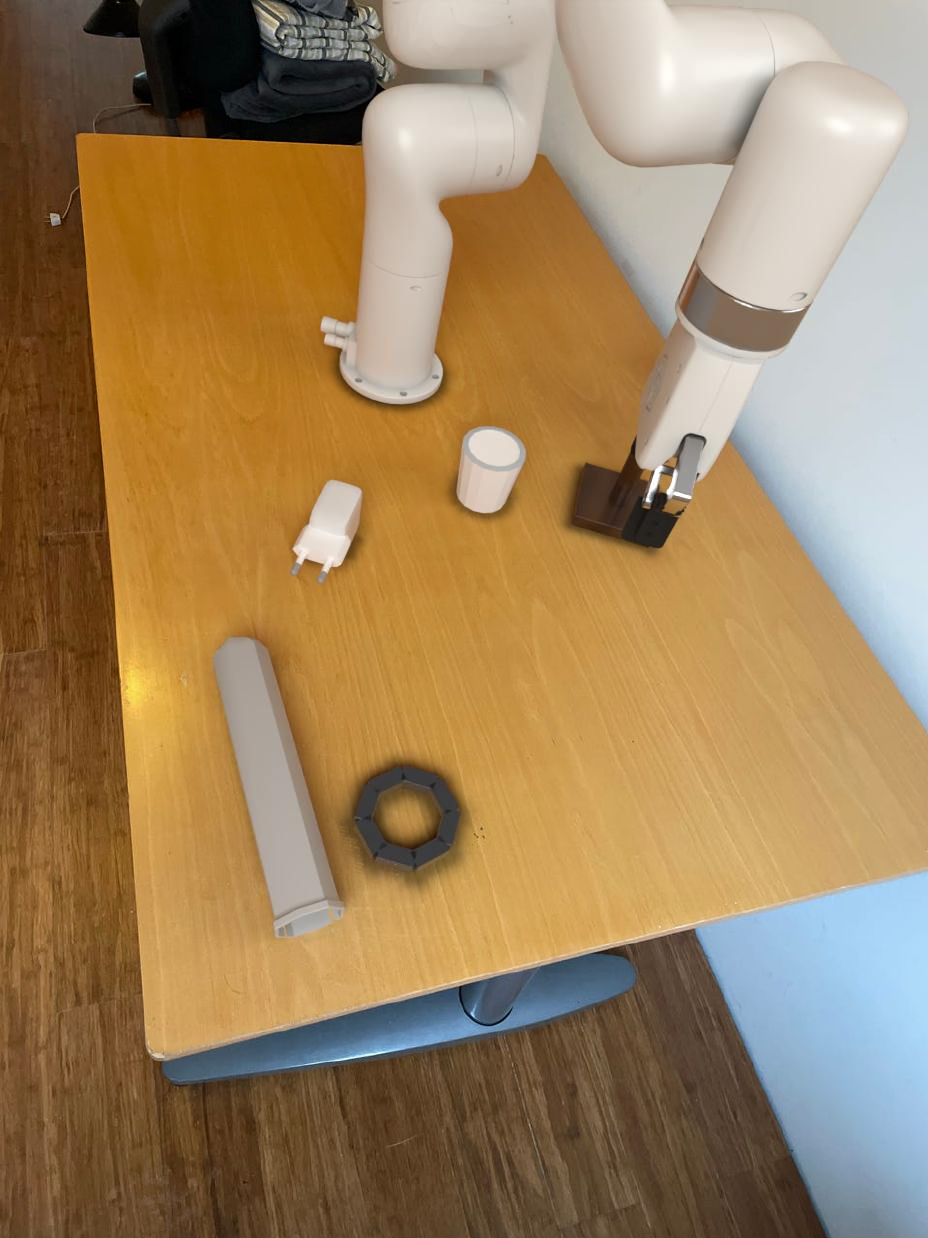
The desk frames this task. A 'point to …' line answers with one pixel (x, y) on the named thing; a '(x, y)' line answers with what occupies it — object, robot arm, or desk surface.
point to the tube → (275, 791)
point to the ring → (394, 853)
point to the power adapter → (329, 527)
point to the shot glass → (488, 468)
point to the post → (608, 497)
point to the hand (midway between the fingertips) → (644, 497)
